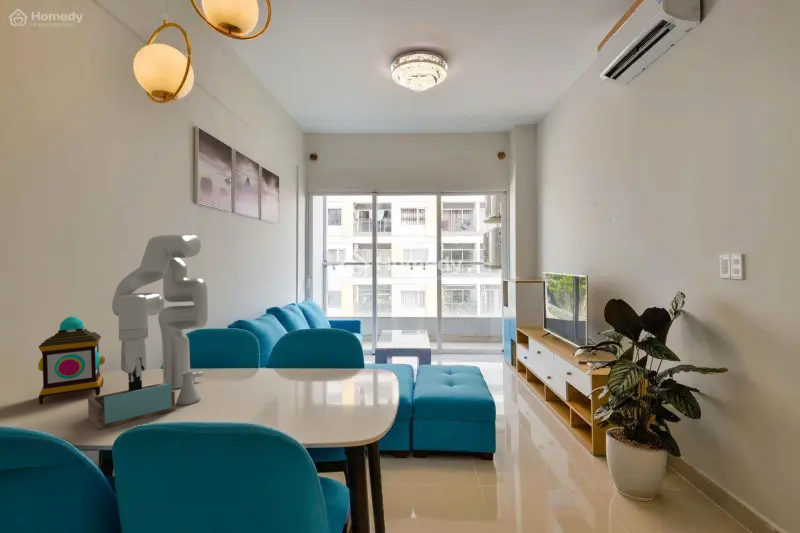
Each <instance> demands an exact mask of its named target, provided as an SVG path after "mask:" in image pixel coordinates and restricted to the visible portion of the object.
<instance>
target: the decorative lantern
mask: <svg viewBox="0 0 800 533" xmlns="http://www.w3.org/2000/svg"><path fill="white" fill-rule="evenodd" d="M101 338H102V336H101V335H100V334H99V333H97V332H91V331H90V330H88V329H87V328H85V326H84V323H83V321H82V320H81V319H80V318H78V317H76V316H72V315H70V316H67V317H66V318H65V319H63V320H62V321H61V322H60V324H59V329H58V331H57V332H56V333H55V334H54V335H51V336H50V337H48V338H46V339H45V340H44V341H43V342H41V344H40V345H38V349H39V351H40V352H41V354H42V357H41V358H40V359H39V362H38V366H37V367H38V370H39V371H40V372H42V384H43V386H42V389H41V390H40V392H39V394H38V404H39V405H41V406H43V405H45V402H46V398H47V397H51V396H52V397H53V396H58V395H63V394H70V393H71V394H72V393H79V392H82V391H84V392H85V391H90V390H93V391H94V395H95V397H96V396H100V394H101V388H102V387H103V386H104V378H103V375H102V374H101V372H100V366H101V365H104V364H105V361H106V359H105V356H103V355H100V352H99V351H100V350H99V343H100V341H101ZM42 404H43V405H42Z"/></svg>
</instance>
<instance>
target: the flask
mask: <svg viewBox="0 0 800 533" xmlns="http://www.w3.org/2000/svg"><path fill="white" fill-rule="evenodd" d="M193 372H194V371H191V372H186V373H183V374H182V375H183V384H182V388H180V391H179V395H178V396H177V400H176V401H175V405H179V406H180V405H181V406H183V405H191V404H194V403H195V404H196V403H199V401H201V400H202V399H201V396H200V394H199V391H198V390H197V388H196V385H195V383H193V378H192V374H193Z"/></svg>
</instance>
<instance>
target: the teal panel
mask: <svg viewBox="0 0 800 533" xmlns="http://www.w3.org/2000/svg"><path fill="white" fill-rule="evenodd" d="M171 390H172V389H171V384H165V385H160V386H155V387H150V388H145V389H141V390H136V391H131V392H126V393H121V394H116V395H111V396H106V397H104V412H105V424H107V423H112V422H116V421H120V420H124V419H128V418H132V417H136V416H140V415H144V414H148V413H152V412H156V411H161V410H165V409H169V408H172V400H171Z"/></svg>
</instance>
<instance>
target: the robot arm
mask: <svg viewBox="0 0 800 533" xmlns="http://www.w3.org/2000/svg"><path fill="white" fill-rule="evenodd" d="M200 240H201V239H200V238H199V236H197V235H196V234H162V235H155V236H153V237H151V238H150V239H148V241H147V243H146V246H145V250H144V253H143V256H142V259H141V261H140V265H139V267H137V268H136V269H135V270H132V272H130V273H128V274H127V275H126V276H125V277H124V278H122V279H121V281H119V283H118V285H117V287H116V289H115V292H114V295H113V298H112V303H111V309H112V312H113V314H114V315H115V316H117V317H118V340H119V341H120V342H121V350H120V352H121V353H120V354H121V355H120V358H121V359H120V369H121V371H123V373H126V374H128V375H127V376H128V390H129V392H131V391H136V390H141V389H142V387H143V382H142V381H143V380H142V379H143V377H142V376H143V372H144V371H146V370H147V349H146V341H145V340H146V339H148V338H149V327H148V326H149V325H148V324H149V321H148V320H149V319H148V316H156V315H158V316H157V319H158V325H159V329H160V332H161V334H160V336H161V353H162V354H161V355H162V356H161V358H162V379H163V380H162V381H163V382H161V383H160V384H161V385H165V384H171V390H176V389H181V388H182V384H183V375H182V374H183V373H186V372H193V374H192V378H193V383H194V384H195V383H196V380H195V378H198V377H199V378H200V377H203V376H204V372H203V370H202V371H191V362H190V360H191V359H190V358H191V357H190V355H191V354H190V339H189V337H188V335H187V334H186V333H185V332H184V331H183V330H194V329H202V328H204V327H206V325H207V323H208V317H209V316H208V314H209V312H208V304H209V303H208V300H209V298H208V286H207V283H206V281H205V280H204V279H202V278H198V277H197V278H196V277H193V278H188V267H187V265H186V262H184V260H183V259H185V258H186V259H187V258H192V257H195V256H198V254H200V252H201V248H202V242H201V241H200ZM160 280H162V282H163V283H162V295H161V294H159V293H158V292H157V293H156V292H139V293H138V292H135V291H136V290H138V289H140V288H142V287H144V286H148V285H150V284H152V283H155V282H158V281H160ZM134 292H135V293H134ZM165 302H167V303H174V304H175V303H193V304H191V305H190V304H188V305H172V306H171V305H170V306H166V307H165Z"/></svg>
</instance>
